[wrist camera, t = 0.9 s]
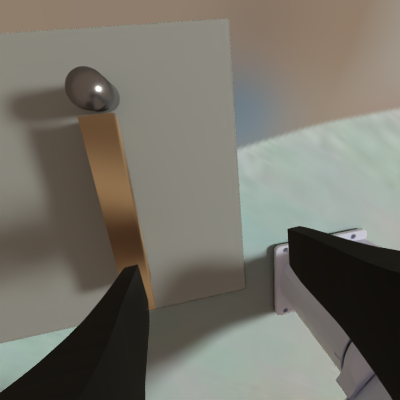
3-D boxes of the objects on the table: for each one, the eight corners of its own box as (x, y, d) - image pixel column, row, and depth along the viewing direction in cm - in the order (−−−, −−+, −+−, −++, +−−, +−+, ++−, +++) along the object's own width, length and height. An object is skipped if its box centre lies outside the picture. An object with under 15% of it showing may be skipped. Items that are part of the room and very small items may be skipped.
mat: (227, 20, 17) (228, 18, 16) (244, 286, 24) (245, 288, 24) (-195, 48, 13) (-202, 46, 13) (-29, 347, 21) (-31, 350, 20)
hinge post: (116, 79, 17) (102, 64, 12) (123, 111, 17) (112, 108, 13) (85, 83, 16) (59, 68, 12) (93, 114, 17) (71, 112, 12)
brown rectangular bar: (94, 117, 17) (77, 116, 13) (121, 114, 17) (112, 112, 13) (133, 280, 21) (129, 314, 17) (154, 275, 21) (155, 309, 17)
